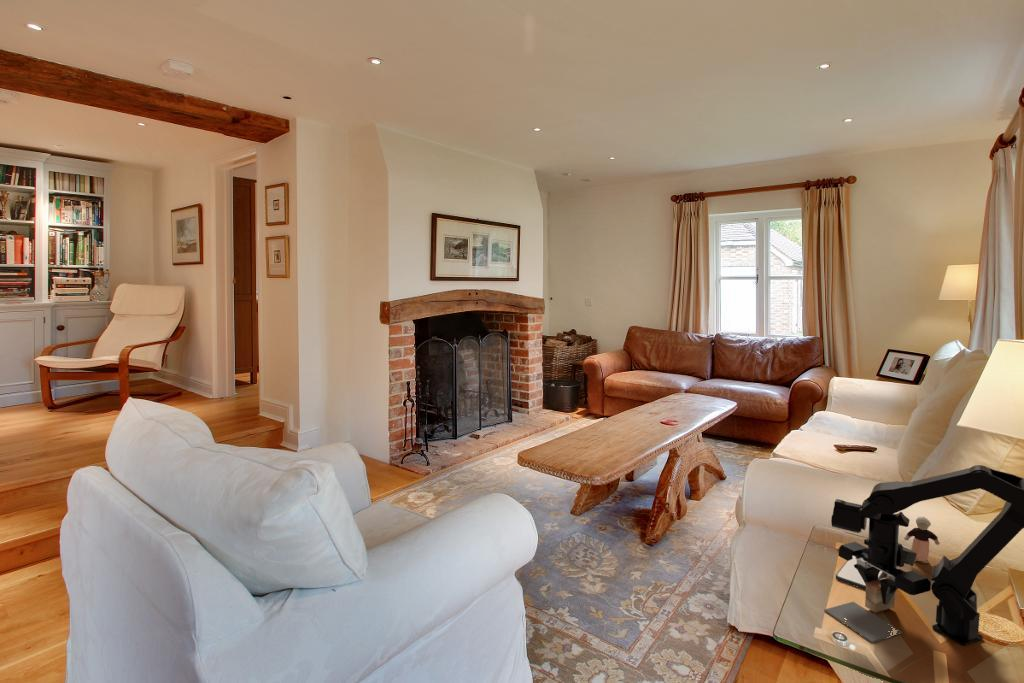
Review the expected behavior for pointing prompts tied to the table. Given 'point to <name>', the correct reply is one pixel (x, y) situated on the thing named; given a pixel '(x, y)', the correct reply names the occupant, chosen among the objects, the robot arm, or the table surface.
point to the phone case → (853, 574)
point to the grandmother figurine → (921, 539)
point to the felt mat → (862, 621)
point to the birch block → (876, 597)
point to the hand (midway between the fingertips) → (879, 600)
